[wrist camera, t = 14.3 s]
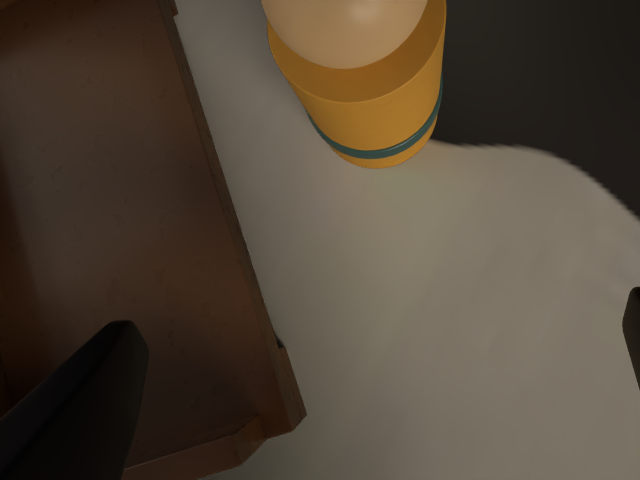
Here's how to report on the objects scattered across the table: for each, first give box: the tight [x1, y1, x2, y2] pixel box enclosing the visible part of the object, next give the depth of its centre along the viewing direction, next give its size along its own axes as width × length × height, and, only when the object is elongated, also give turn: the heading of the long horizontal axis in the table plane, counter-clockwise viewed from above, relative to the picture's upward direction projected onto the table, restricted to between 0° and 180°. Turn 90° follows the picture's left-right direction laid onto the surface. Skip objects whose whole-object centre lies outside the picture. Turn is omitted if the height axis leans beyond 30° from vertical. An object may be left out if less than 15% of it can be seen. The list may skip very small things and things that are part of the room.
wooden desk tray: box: [0, 0, 307, 480], centre depth 22 cm, size 22×12×6 cm, turn 19°
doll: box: [261, 0, 446, 168], centre depth 17 cm, size 5×5×12 cm
